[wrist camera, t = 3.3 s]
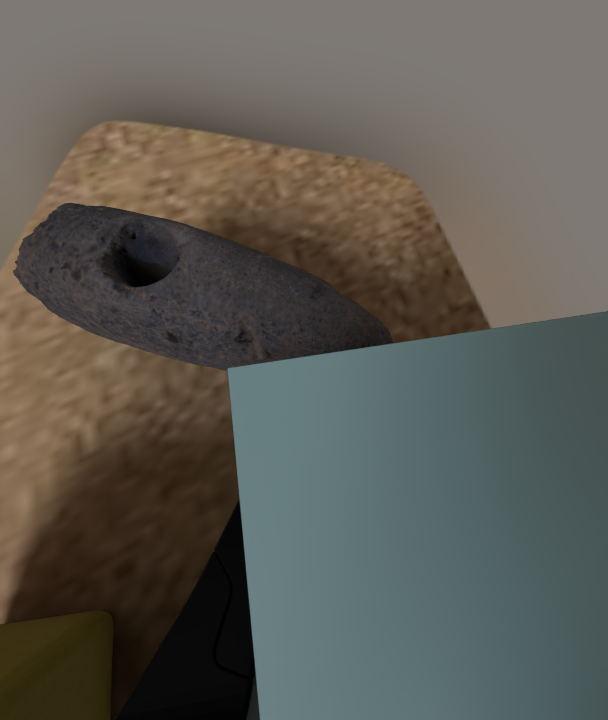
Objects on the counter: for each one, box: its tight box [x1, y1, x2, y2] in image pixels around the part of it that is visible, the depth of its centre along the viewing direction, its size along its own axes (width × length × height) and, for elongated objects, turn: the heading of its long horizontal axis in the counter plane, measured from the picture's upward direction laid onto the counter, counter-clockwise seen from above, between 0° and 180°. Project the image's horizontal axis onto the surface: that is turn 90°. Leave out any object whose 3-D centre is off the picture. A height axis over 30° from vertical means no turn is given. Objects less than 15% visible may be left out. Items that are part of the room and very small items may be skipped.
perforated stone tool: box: [13, 203, 393, 370], centre depth 13 cm, size 15×5×7 cm, turn 73°
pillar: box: [228, 311, 608, 720], centre depth 9 cm, size 4×4×13 cm
